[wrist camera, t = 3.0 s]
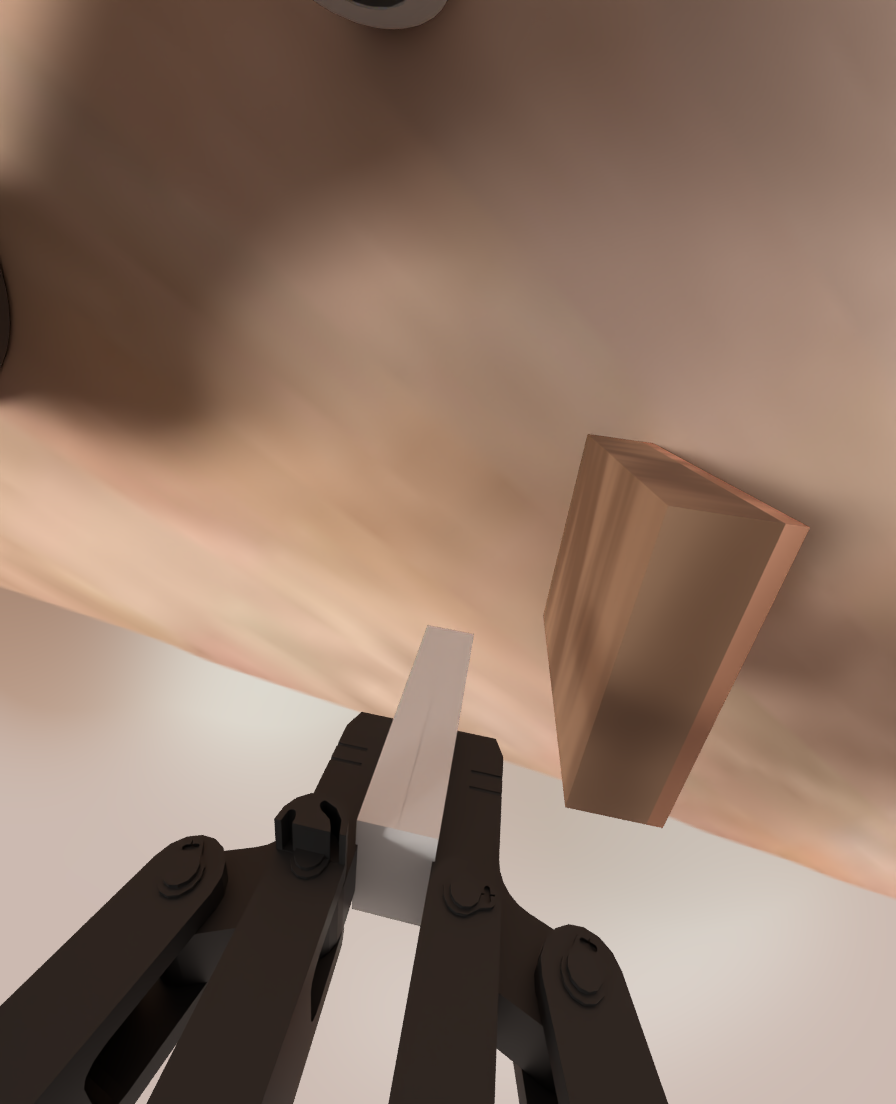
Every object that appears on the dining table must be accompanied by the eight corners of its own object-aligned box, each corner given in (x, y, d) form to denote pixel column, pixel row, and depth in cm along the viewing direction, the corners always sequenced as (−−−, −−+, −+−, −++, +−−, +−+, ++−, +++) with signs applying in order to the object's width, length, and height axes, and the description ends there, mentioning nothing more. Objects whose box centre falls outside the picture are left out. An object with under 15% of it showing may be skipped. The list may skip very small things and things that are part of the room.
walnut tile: (543, 615, 29) (565, 807, 16) (587, 434, 24) (668, 505, 12) (597, 625, 29) (662, 827, 16) (653, 443, 24) (809, 527, 11)
